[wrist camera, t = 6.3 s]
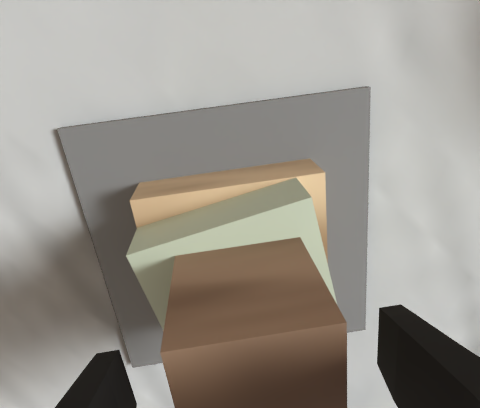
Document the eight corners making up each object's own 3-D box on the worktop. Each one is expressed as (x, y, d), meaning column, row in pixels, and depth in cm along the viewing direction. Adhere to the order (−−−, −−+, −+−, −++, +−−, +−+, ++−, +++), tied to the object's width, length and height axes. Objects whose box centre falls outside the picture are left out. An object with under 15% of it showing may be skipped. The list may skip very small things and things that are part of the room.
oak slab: (316, 297, 17) (329, 325, 15) (172, 320, 17) (168, 351, 15) (309, 158, 15) (325, 172, 13) (139, 182, 14) (129, 200, 12)
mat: (363, 325, 18) (365, 329, 18) (133, 363, 18) (132, 367, 18) (367, 86, 14) (370, 87, 14) (59, 127, 13) (56, 129, 13)
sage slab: (328, 306, 15) (346, 340, 13) (193, 347, 15) (191, 387, 13) (295, 177, 13) (311, 197, 11) (137, 227, 13) (125, 255, 11)
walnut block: (306, 334, 13) (346, 445, 9) (196, 352, 13) (192, 472, 9) (300, 236, 11) (346, 322, 8) (175, 255, 11) (160, 352, 7)
